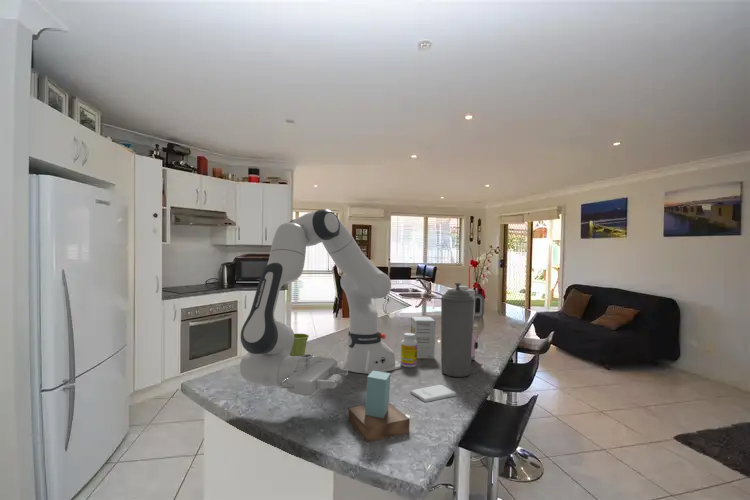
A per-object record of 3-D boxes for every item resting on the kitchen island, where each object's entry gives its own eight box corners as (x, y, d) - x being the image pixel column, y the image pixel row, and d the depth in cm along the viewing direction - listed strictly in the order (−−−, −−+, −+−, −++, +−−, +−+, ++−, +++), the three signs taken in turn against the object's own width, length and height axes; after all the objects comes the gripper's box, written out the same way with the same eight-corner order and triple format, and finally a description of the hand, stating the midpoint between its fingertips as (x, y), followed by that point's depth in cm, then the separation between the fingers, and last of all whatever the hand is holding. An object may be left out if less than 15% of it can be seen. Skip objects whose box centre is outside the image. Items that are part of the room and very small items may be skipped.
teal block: (370, 406, 99) (372, 370, 99) (388, 410, 98) (390, 373, 98) (364, 414, 94) (367, 376, 94) (383, 418, 93) (386, 380, 93)
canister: (461, 366, 149) (463, 281, 149) (479, 377, 137) (481, 284, 137) (433, 369, 145) (435, 281, 145) (449, 380, 133) (451, 284, 133)
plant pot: (288, 359, 152) (288, 339, 152) (284, 353, 161) (285, 334, 161) (310, 357, 156) (311, 337, 156) (305, 352, 164) (306, 332, 164)
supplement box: (409, 352, 168) (410, 316, 168) (429, 352, 169) (430, 316, 169) (414, 358, 159) (415, 320, 159) (434, 358, 160) (435, 320, 160)
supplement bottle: (416, 368, 145) (417, 336, 145) (399, 367, 146) (400, 335, 146) (417, 363, 152) (418, 332, 152) (401, 362, 153) (402, 331, 153)
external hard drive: (455, 397, 118) (424, 404, 113) (440, 388, 126) (410, 394, 120) (456, 392, 118) (424, 398, 113) (440, 384, 126) (410, 389, 120)
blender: (443, 361, 156) (445, 286, 156) (448, 353, 168) (449, 284, 168) (481, 366, 151) (483, 288, 151) (483, 358, 162) (485, 286, 162)
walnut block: (387, 415, 104) (387, 401, 104) (409, 434, 93) (409, 418, 93) (348, 422, 99) (348, 408, 99) (366, 444, 88) (367, 427, 88)
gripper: (276, 373, 92) (328, 379, 89) (310, 352, 112) (353, 356, 108) (276, 398, 92) (327, 405, 89) (309, 372, 112) (352, 377, 108)
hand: (341, 378), depth 99 cm, fingers open, 8 cm apart
